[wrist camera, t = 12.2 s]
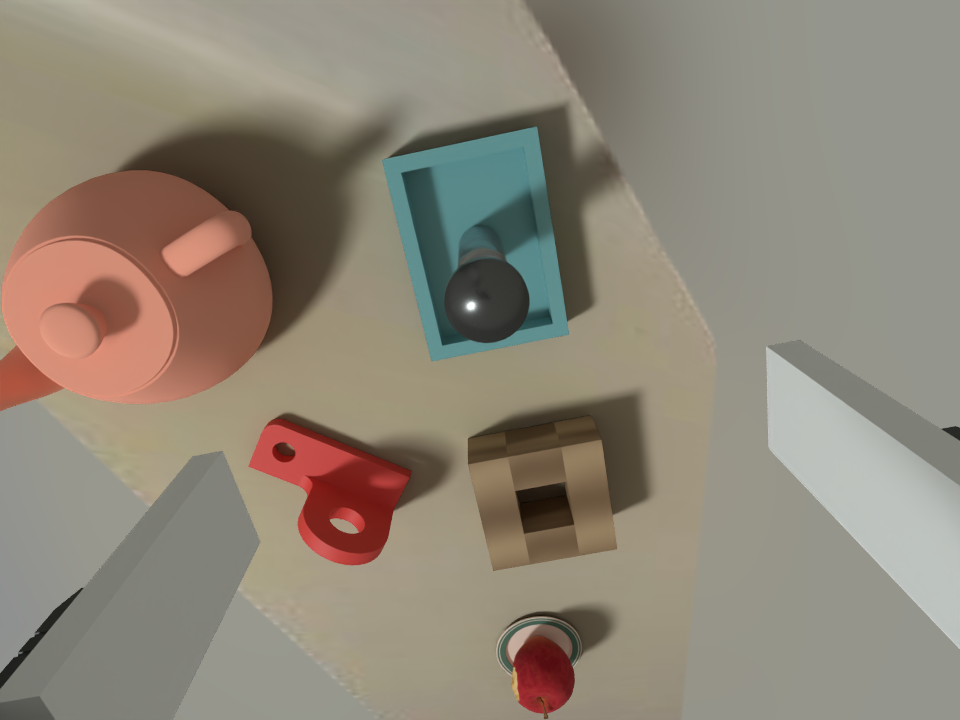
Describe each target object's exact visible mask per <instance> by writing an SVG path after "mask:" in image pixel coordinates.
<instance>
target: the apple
mask: <svg viewBox="0 0 960 720" xmlns="http://www.w3.org/2000/svg"><path fill="white" fill-rule="evenodd" d="M581 652H582V644H581V640H580V637H579V635H578V633H577V632H576V630H575V629H574V628H573V627H572V626H570V625H569V624H568V623H566V622H564V621H562V620H560V619H557V618H553V617H547V616H536V617H530V618H526V619H523V620H520V621H518V622H516V623H514V624H512V625H511V626H510V627H508V628H507V629H506V630H505V631H504V632H503V634H502V635H501V637H500V638H499V641H498V643H497V649H496V654H497V659H498V662H499V664H500V665H501V667H502V668H503V669H504V670H505V671H506V672H507V673H508V674H509V675H511V676H512V684H511V685H512V688H513V692H514V694H515V696H516V699H517V701H518V702H519V703H520V704H521V705H522V706H523V707H525V708H527V709H528V710H530V711H533V712H536V713H544V719H547V718H548V715H547V713H550V712H553V711H555V710H557V709H559V708H560V707H562V706H563V705H564V704H565V703H566V702H567V701H568V700H569V698H570V697H571V695H572V692H573V688H574V683H575V678H574V670H573V668H574V666H575V665H576V664H577V662H578V661H579V659H580V656H581Z"/></svg>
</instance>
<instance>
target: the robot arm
mask: <svg viewBox="0 0 960 720" xmlns="http://www.w3.org/2000/svg"><path fill="white" fill-rule="evenodd" d="M766 354H767V355H766V356H767V401H768V443H769V444H768V445H769V449H770V450H771V451H772V452H773V453H774V454H775V456H776V457H777V458H778V459H779V460H780V461H781V462H782V463H783V464H784V465H785V466H786V467H787V468H788V469H789V470H790V471H791V472H792V473H793V474H794V475H795V477H796V478H797V479H798V480H799V481H801V483H802V484H803V485H804V486H805V487H806V488H807V489H808V490H809V491H810V492H811V493H812V494H813V495H814V497H815V498H816V499H817V500H818V501H819V502H820V503H821V504H822V505H823V506H824V507H825V508H826V509H827V510H828V511H829V512H830V513H831V514H832V515H833V517H834V518H835V519H836V520H837V521H838V522H839V523H840V524H841V525H842V526H843V527H844V528H845V529H846V530H847V531H848V532H849V533H850V534H851V535H852V536H853V538H854V539H855V540H856V541H857V542H858V543H859V544H860V545H861V546H862V547H863V548H864V549H865V550H866V551H867V552H868V553H869V554H870V555H871V556H872V557H873V559H874V560H875V561H876V562H877V563H878V564H879V565H880V566H881V567H882V568H883V569H884V570H885V571H886V572H887V573H888V574H889V575H890V576H891V577H892V578H893V580H894V581H895V582H896V583H897V584H898V585H899V586H900V587H901V588H902V589H903V590H904V591H905V592H906V593H907V594H908V595H909V596H910V597H911V598H912V600H913V601H914V602H915V603H916V604H917V605H918V606H919V607H920V608H921V609H922V610H923V611H924V612H925V613H926V614H927V615H928V616H929V617H930V618H931V620H932V621H933V622H935V624H936V625H937V626H938V627H939V628H940V629H941V630H942V631H943V632H944V633H945V634H946V635H947V636H948V637H949V638H950V639H951V641H952V642H953V643H954V644H955V645H956V646H957V647H958V648H959V649H960V428H959V427H956V426H955V427H949V428H944V429H940V428H939V427H937V426H935V425H934V424H932V423H931V422H929V421H927V420H926V419H924V418H923V417H921V416H920V415H918V414H916V413H915V412H913V411H912V410H910V409H908V408H907V407H905V406H903V405H902V404H900V403H899V402H897V401H896V400H894V399H893V398H891V397H889V396H888V395H886V394H884V393H883V392H881V391H880V390H878V389H877V388H875V387H874V386H872V385H870V384H869V383H867V382H866V381H864V380H862V379H861V378H859V377H857V376H856V375H854V374H853V373H851V372H850V371H848V370H847V369H845V368H843V367H842V366H840V365H839V364H837V363H835V362H834V361H832V360H831V359H829V358H828V357H826V356H824V355H823V354H821V353H820V352H818V351H816V350H815V349H813V348H812V347H810V346H809V345H807V344H805V343H804V342H802V341H801V340H797V341H791V342H786V343H781V344H775V345H770V346H766ZM259 544H260V540H259V537H258V535H257V532H256V530H255V528H254V525H253V523H252V520H251V518H250V516H249V513H248V511H247V508H246V506H245V504H244V501H243V499H242V496H241V494H240V491H239V489H238V487H237V484H236V482H235V479H234V477H233V475H232V472H231V470H230V467H229V465H228V463H227V460H226V458H225V455H224V453H223V451H219V452H214V453H209V454H204V455H199V456H193V457H192V458H191V459H190V460H189V461H188V463H187V464H186V465H185V466H184V467H183V469H182V470H181V471H180V472H179V474H178V475H177V476H176V477H175V478H174V480H173V481H172V482H171V483H170V484H169V486H168V487H167V488H166V489H165V490H164V492H163V493H162V494H161V495H160V497H159V498H158V499H157V500H156V501H155V503H154V504H153V505H152V506H151V507H150V509H149V510H148V511H147V512H146V513H145V515H144V516H143V517H142V518H141V520H140V521H139V522H138V523H137V524H136V526H135V527H134V528H133V529H132V530H131V532H130V533H129V534H128V535H127V536H126V538H125V539H124V540H123V541H122V542H121V544H120V545H119V546H118V547H117V549H116V550H115V551H114V552H113V554H112V555H111V556H110V557H109V558H108V559H107V561H106V562H105V563H104V564H103V566H102V567H101V568H100V569H99V570H98V572H97V573H96V574H95V575H94V576H93V578H92V579H91V580H90V581H89V582H88V584H87V585H86V586H85V587H84V588H81V589H80V590H78V591H77V592H76V593H75V594H73V595H72V596H71V597H70V598H68V599H67V600H66V601H65V602H63V603H62V604H61V605H60V606H59V607H57V608H56V609H55V610H54V611H53V612H52V613H51V614H50V616H49V617H48V618H47V619H46V620H45V621H44V623H43V624H42V625H41V626H40V627H39V629H38V630H37V631H36V632H35V637H32V638H30V639H29V640H28V642H27V643H26V644H25V645H24V646H23V647H22V649H21V650H20V651H19V652H18V657H14V658H13V659H12V660H11V662H10V663H9V664H8V665H7V666H6V667H5V668H4V670H3V671H2V672H1V673H0V720H173V718H174V716H175V714H176V712H177V710H178V708H179V706H180V704H181V701H182V700H183V698H184V696H185V694H186V692H187V690H188V688H189V686H190V683H191V682H192V680H193V677H194V675H195V673H196V671H197V669H198V667H199V665H200V663H201V661H202V659H203V657H204V655H205V653H206V651H207V649H208V647H209V645H210V643H211V641H212V639H213V637H214V635H215V633H216V631H217V629H218V626H219V625H220V623H221V621H222V619H223V616H224V615H225V612H226V610H227V608H228V606H229V604H230V602H231V600H232V598H233V596H234V594H235V592H236V590H237V588H238V586H239V584H240V582H241V580H242V578H243V576H244V574H245V572H246V570H247V568H248V566H249V564H250V562H251V560H252V558H253V556H254V554H255V552H256V550H257V548H258V546H259Z"/></svg>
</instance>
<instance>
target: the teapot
mask: <svg viewBox="0 0 960 720" xmlns="http://www.w3.org/2000/svg"><path fill="white" fill-rule="evenodd" d="M251 234H252V233H251V227H250V224H249V222H248V220H247V219H246V218H245V217H244V216H243V215H242V214H241V213H239V212H236V211H229V210H228V209H227V208H226V207H225V206H224V205H223V204H222V203H221V202H220V201H218V200H217V199H216V198H214V197H213V196H212V195H210V194H209V193H208V192H206V191H205V190H203V189H201V188H200V187H198V186H196V185H195V184H193V183H191V182H189V181H186V180H184V179H182V178H179V177H177V176H173V175H170V174H166V173H162V172H156V171H148V170H130V171H123V172H116V173H110V174H106V175H102V176H99V177H95V178H92V179H90V180H88V181H85V182H83V183H81V184H79V185H77V186H74V187H72V188H70V189H69V190H67V191H66V192H64V193H63V194H61V195H60V196H58V197H57V198H55V199H54V200H52V201H51V202H49V203H48V204H47V205H46V206H45V207H44V208H43V209H42V210H40V211H39V212H38V213H37V215H36V216H35V217H34V218H33V219H32V220H31V221H30V223H29V224H28V225H27V227H26V228H25V229H24V231H23V232H22V234H21V236H20V238H19V240H18V241H17V243H16V245H15V247H14V249H13V252H12V254H11V257H10V259H9V262H8V265H7V268H6V272H5V275H4V280H3V285H2V312H3V317H4V320H5V324H6V326H7V328H8V331H9V333H10V335H11V336H12V338H13V340H14V342H15V343H16V346H15V347H14V348H13V349H12V350H11V351H10V352H9V353H8V354H7V355H6V356H5V357H4V358H3V359H2V360H1V361H0V411H2V410H5V409H7V408H10V407H13V406H16V405H19V404H22V403H25V402H28V401H32V400H35V399H38V398H41V397H44V396H47V395H50V394H52V393H55V392H57V391H59V390H61V389H63V388H66V389H68V390H70V391H72V392H75V393H78V394H81V395H84V396H87V397H90V398H94V399H99V400H104V401H110V402H118V403H128V404H153V403H160V402H167V401H173V400H177V399H181V398H185V397H188V396H191V395H194V394H197V393H199V392H202V391H204V390H207V389H209V388H211V387H213V386H215V385H216V384H218V383H220V382H222V381H223V380H225V379H227V378H228V377H230V376H231V375H232V374H233V373H235V372H236V371H237V370H239V369H240V368H241V367H242V366H243V365H244V364H245V363H246V362H247V361H248V360H249V359H250V358H251V357H252V356H253V354H254V353H255V351H256V350H257V349H258V347H259V346H260V344H261V342H262V340H263V338H264V337H265V334H266V332H267V329H268V326H269V324H270V319H271V314H272V300H273V297H272V287H271V281H270V277H269V273H268V269H267V267H266V264H265V262H264V259H263V257H262V255H261V253H260V251H259V249H258V247H257V246H256V244H255V242H254V240H253V239H252V237H251Z"/></svg>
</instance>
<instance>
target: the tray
mask: <svg viewBox="0 0 960 720" xmlns="http://www.w3.org/2000/svg"><path fill="white" fill-rule="evenodd" d="M382 162H383V166H384V170H385V174H386V178H387V183H388V187H389V191H390V195H391V199H392V203H393V207H394V211H395V215H396V219H397V223H398V227H399V231H400V235H401V239H402V243H403V247H404V251H405V255H406V259H407V263H408V268H409V272H410V276H411V280H412V284H413V288H414V292H415V296H416V300H417V304H418V308H419V312H420V316H421V320H422V324H423V328H424V332H425V336H426V340H427V344H428V348H429V353H430V357H431V361H436V360H441V359H446V358H451V357H456V356H461V355H467V354H472V353H477V352H482V351H487V350H492V349H497V348H502V347H507V346H513V345H518V344H523V343H528V342H533V341H538V340H543V339H548V338H553V337H559V336H564V335H569V330H568V324H567V317H566V311H565V304H564V298H563V291H562V285H561V278H560V272H559V265H558V259H557V253H556V246H555V240H554V233H553V227H552V220H551V214H550V207H549V201H548V194H547V188H546V181H545V175H544V168H543V162H542V155H541V149H540V142H539V136H538V129H537V127H531V128H526V129H521V130H517V131H512V132H507V133H503V134H498V135H493V136H489V137H484V138H479V139H475V140H470V141H465V142H461V143H456V144H451V145H447V146H442V147H437V148H433V149H428V150H424V151H419V152H414V153H410V154H405V155H400V156H396V157H391V158H386V159H383V160H382ZM477 225H484V226H488V227H490V228H492V229H493V230H494V231H495V232H496V233H497V234H498V235H499V237H500V240H501V243H502V246H503V249H504V252H505V255H506V258H507V261H508V263H509V264H511V265H512V266H513V267H515V268H516V269H517V270H518V271H519V273H520V274H521V275H522V277H523V279H524V281H525V283H526V286H527V288H528V292H529V298H530V305H529V311H528V314H527V317H526V319H525V321H524V323H523V324H522V326H521V327H520V328H519V329H518V330H517V331H516V332H515V333H514V334H513V335H511V336H510V337H508V338H506V339H504V340H501V341H498V342H494V343H479V342H475V341H472V340H469V339H467V338H465V337H463V336H462V335H461V334H459V333H458V332H457V331H456V330H455V329H454V328H453V326H452V325H451V323H450V322H449V320H448V318H447V315H446V312H445V306H444V299H445V291H446V287H447V284H448V281H449V279H450V278H451V276H452V274H453V273H454V272H455V271H456V270H457V266H458V252H459V242H460V239H461V237H462V235H463V234H464V232H465V231H466V230H468V229H469V228H471V227H473V226H477Z"/></svg>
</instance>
